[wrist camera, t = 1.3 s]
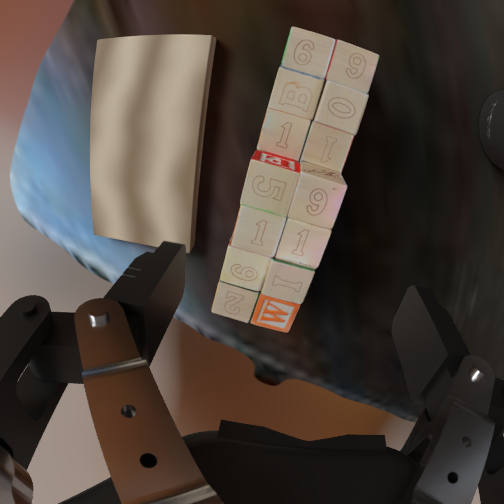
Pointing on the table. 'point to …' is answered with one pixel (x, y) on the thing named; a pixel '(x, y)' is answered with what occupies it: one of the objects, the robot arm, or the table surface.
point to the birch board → (148, 136)
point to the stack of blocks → (294, 179)
